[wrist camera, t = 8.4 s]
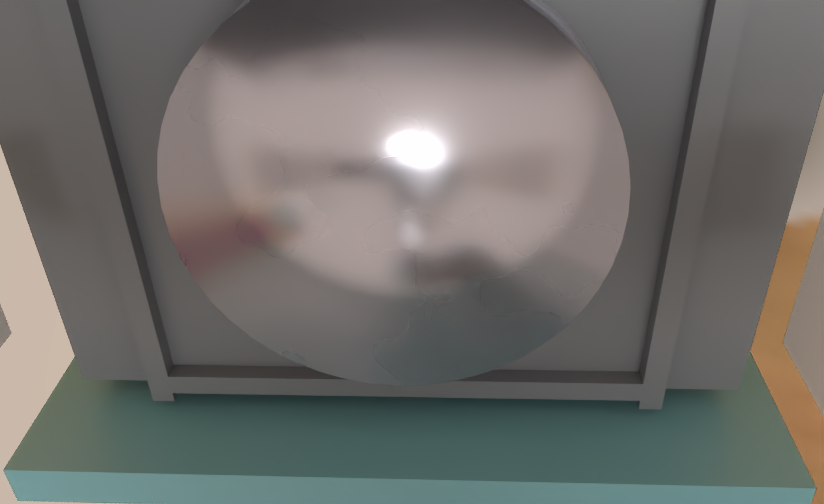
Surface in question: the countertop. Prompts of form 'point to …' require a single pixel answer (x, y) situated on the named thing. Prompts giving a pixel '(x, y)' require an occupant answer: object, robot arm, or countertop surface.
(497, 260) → the disc
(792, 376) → the countertop surface
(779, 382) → the countertop surface
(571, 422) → the tray
